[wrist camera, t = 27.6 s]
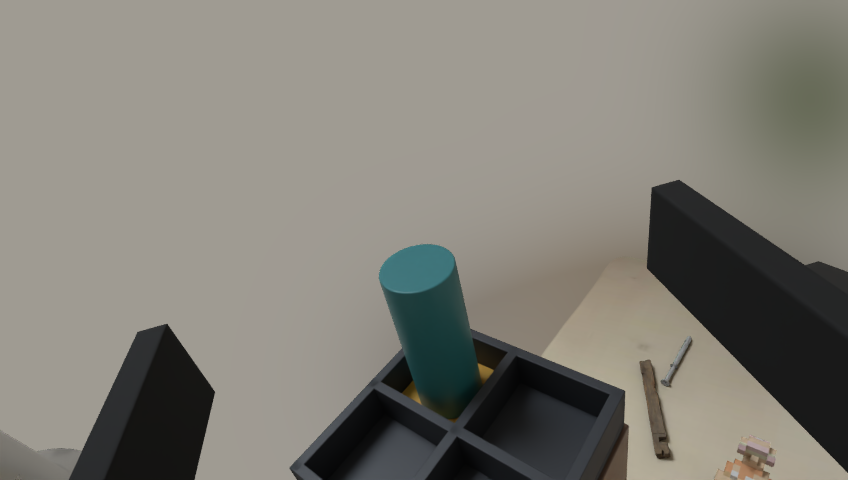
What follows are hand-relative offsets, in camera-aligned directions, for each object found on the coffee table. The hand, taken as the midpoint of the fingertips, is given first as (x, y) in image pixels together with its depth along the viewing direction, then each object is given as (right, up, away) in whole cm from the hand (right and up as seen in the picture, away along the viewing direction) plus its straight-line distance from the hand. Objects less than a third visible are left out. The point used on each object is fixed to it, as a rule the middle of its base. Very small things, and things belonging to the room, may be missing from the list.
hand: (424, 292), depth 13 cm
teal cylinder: (+2, -8, +17) cm, 19 cm away
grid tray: (+2, -11, +14) cm, 18 cm away
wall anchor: (+32, -14, +48) cm, 59 cm away
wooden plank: (+29, -18, +41) cm, 53 cm away
